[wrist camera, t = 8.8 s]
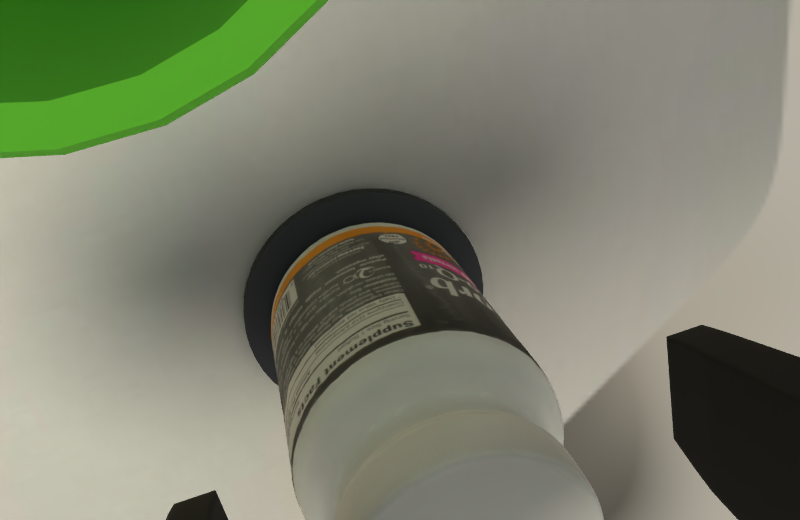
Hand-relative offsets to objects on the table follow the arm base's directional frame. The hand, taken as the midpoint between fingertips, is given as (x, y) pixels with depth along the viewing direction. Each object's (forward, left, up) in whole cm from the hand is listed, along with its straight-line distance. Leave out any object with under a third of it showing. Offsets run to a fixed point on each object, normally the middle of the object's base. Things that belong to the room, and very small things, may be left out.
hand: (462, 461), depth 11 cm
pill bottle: (0, +2, -10) cm, 10 cm away
